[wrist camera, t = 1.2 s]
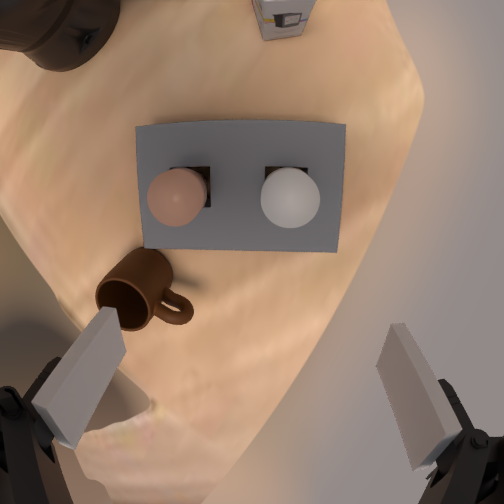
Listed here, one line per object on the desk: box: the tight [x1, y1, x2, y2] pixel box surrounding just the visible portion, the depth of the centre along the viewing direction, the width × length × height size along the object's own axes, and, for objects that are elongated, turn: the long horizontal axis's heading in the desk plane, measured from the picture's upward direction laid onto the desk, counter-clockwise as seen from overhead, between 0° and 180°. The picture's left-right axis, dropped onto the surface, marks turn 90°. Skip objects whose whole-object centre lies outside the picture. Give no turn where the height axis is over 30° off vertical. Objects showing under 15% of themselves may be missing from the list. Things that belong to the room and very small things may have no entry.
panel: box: [136, 120, 346, 253], centre depth 33 cm, size 14×22×5 cm, turn 90°
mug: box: [95, 248, 194, 331], centre depth 36 cm, size 12×8×9 cm, turn 74°
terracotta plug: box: [147, 167, 207, 227], centre depth 29 cm, size 5×5×8 cm
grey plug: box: [261, 167, 320, 228], centre depth 28 cm, size 5×5×8 cm
